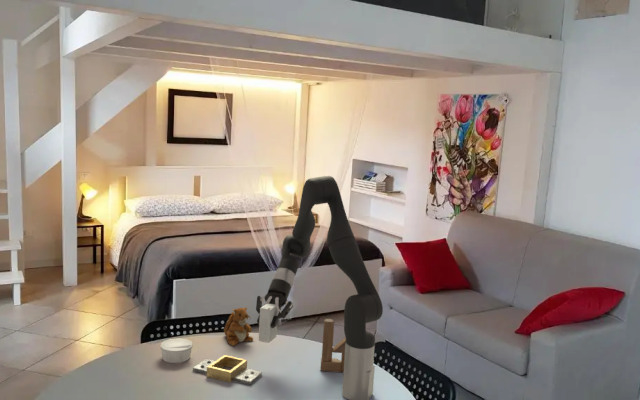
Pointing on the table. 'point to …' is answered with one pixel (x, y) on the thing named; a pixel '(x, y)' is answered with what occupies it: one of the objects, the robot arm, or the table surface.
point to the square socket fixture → (235, 374)
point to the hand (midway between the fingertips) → (265, 325)
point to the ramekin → (176, 350)
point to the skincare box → (267, 323)
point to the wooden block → (331, 349)
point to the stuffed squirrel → (238, 327)
